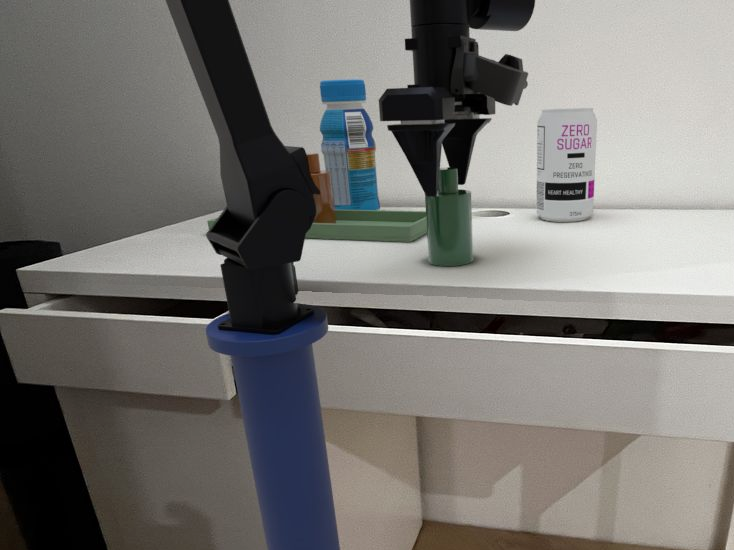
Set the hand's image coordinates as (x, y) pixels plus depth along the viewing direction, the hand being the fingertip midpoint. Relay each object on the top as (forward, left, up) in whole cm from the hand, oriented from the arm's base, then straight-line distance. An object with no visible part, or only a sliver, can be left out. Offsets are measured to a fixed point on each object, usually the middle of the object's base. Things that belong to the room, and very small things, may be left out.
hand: (446, 190), depth 67 cm
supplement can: (+28, -8, -8) cm, 30 cm away
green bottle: (0, 0, -8) cm, 8 cm away
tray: (+14, +24, -8) cm, 29 cm away
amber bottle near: (+14, +25, -7) cm, 30 cm away
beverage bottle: (+27, +26, -8) cm, 38 cm away
